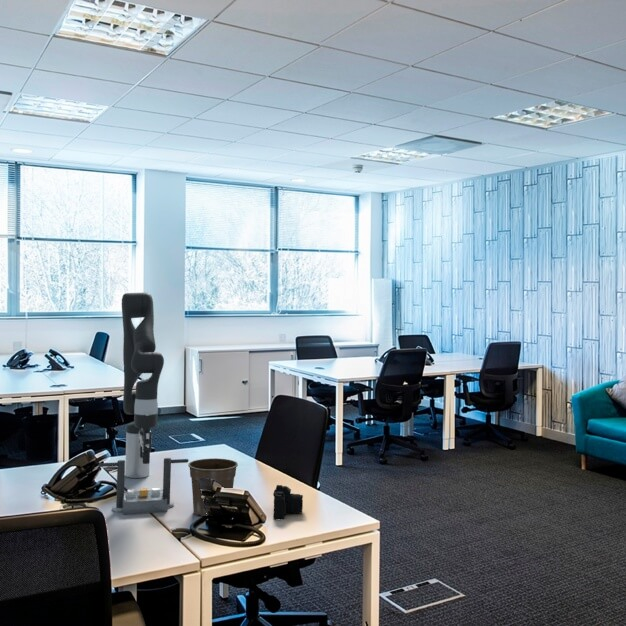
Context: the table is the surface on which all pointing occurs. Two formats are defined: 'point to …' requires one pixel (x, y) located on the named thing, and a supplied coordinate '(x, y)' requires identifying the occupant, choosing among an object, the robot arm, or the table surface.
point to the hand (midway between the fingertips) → (144, 460)
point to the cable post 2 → (169, 477)
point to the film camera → (286, 502)
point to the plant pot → (210, 477)
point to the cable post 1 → (118, 482)
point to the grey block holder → (144, 502)
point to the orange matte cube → (143, 492)
